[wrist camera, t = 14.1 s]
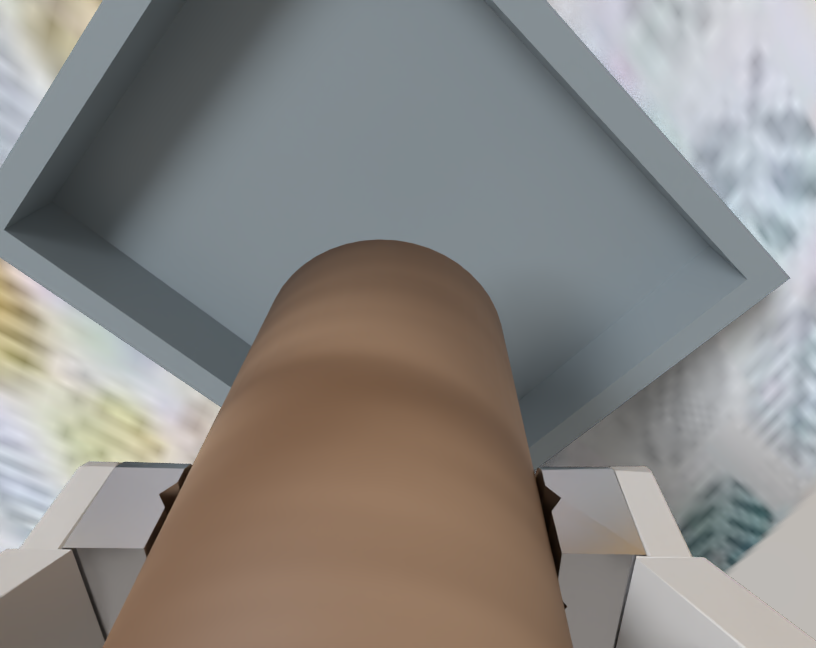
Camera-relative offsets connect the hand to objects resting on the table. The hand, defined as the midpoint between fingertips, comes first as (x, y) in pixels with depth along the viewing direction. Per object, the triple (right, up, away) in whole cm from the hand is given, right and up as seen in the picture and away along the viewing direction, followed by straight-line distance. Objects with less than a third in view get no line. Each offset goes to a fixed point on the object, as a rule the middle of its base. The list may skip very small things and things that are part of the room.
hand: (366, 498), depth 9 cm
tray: (0, +6, +11) cm, 12 cm away
